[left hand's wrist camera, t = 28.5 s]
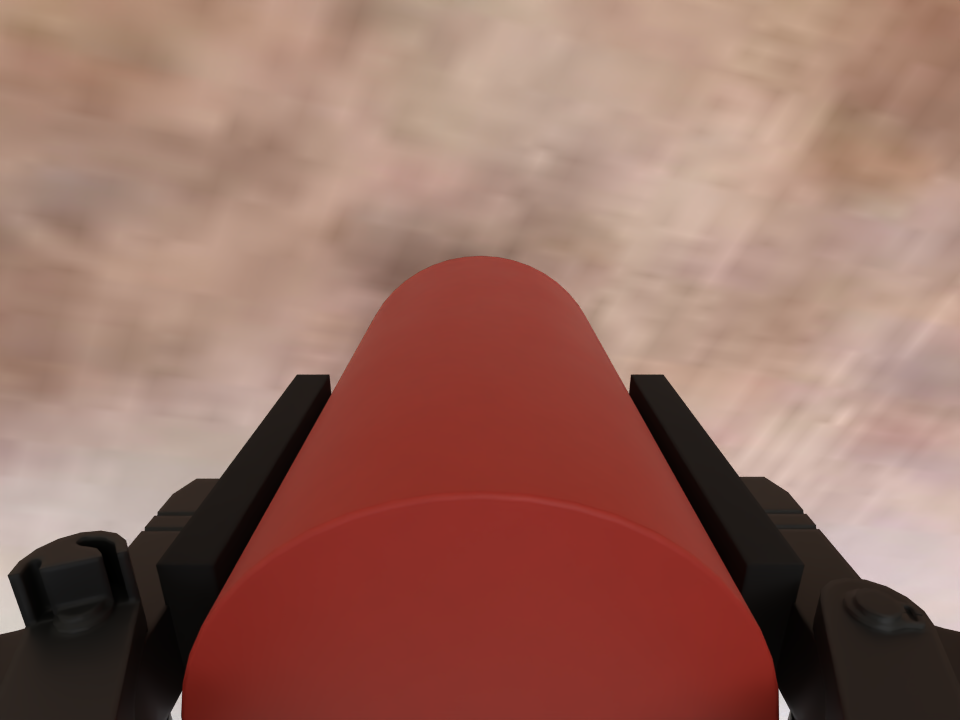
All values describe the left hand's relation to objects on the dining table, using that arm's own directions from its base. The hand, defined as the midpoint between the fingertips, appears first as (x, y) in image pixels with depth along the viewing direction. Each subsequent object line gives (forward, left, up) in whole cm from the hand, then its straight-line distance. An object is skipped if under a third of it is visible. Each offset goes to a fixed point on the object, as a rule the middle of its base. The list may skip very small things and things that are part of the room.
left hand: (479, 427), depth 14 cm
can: (0, 0, -4) cm, 4 cm away
